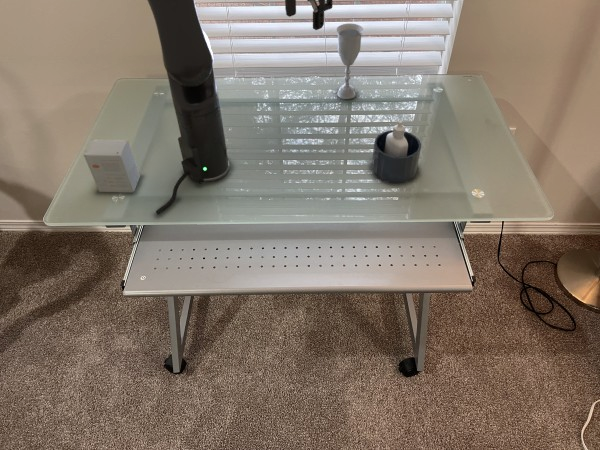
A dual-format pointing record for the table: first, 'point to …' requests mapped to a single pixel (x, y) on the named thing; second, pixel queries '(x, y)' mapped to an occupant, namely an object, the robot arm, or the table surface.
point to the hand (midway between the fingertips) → (304, 21)
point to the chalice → (348, 53)
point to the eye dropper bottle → (396, 142)
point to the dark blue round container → (395, 159)
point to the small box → (112, 165)
